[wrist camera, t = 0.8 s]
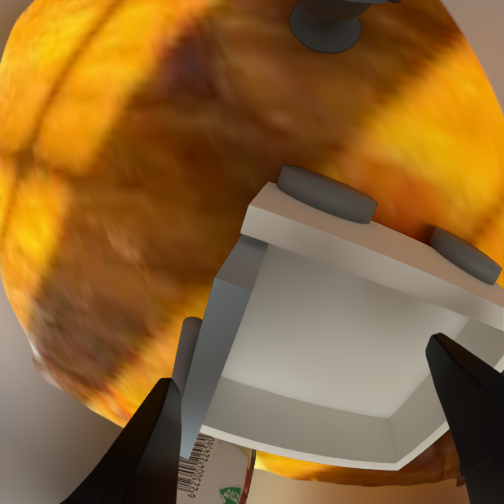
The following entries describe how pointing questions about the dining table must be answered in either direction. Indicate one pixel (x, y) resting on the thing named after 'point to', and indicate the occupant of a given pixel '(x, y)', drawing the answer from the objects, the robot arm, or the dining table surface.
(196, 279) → the dining table surface
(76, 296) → the dining table surface
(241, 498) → the juice carton
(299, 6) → the sundae
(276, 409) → the cart
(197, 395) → the panel
